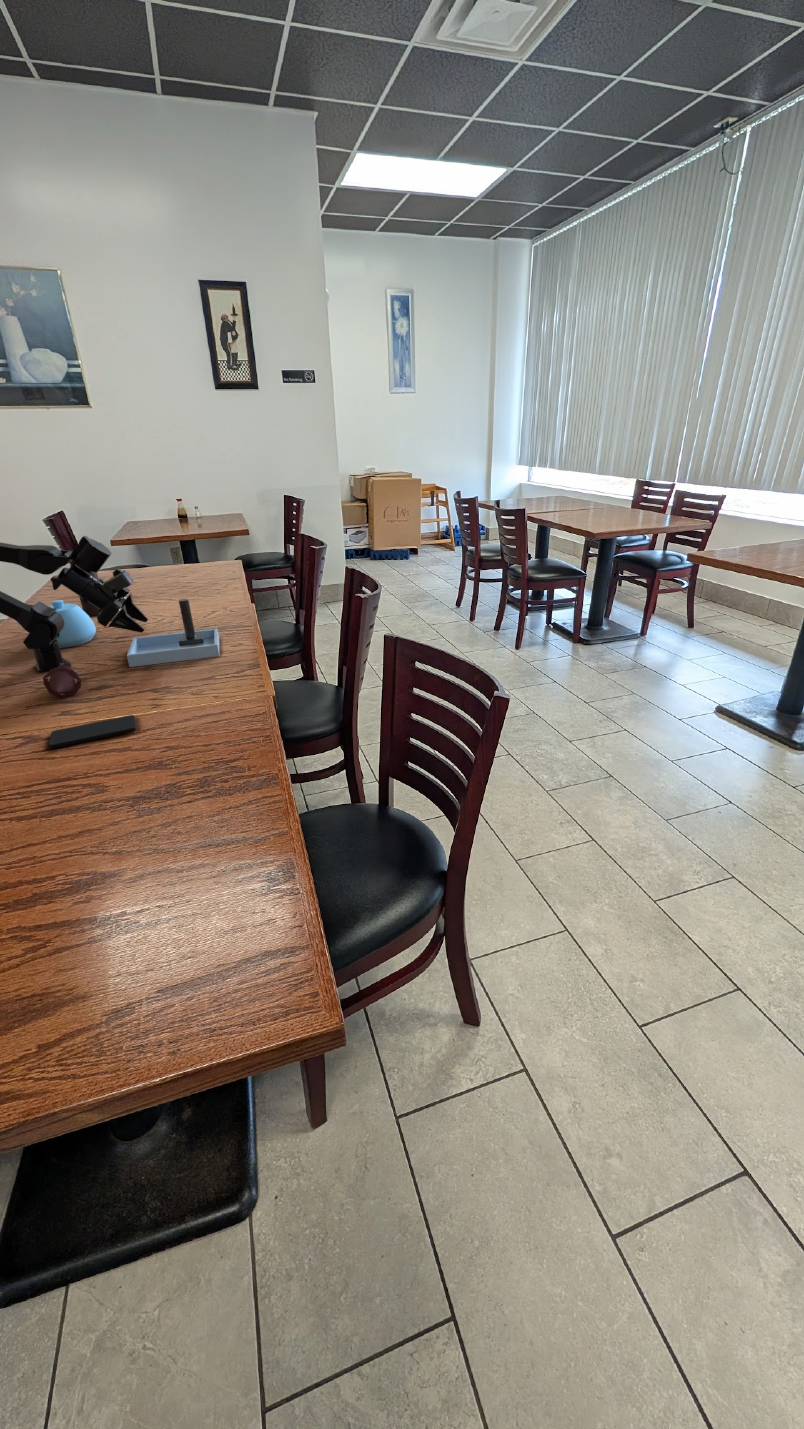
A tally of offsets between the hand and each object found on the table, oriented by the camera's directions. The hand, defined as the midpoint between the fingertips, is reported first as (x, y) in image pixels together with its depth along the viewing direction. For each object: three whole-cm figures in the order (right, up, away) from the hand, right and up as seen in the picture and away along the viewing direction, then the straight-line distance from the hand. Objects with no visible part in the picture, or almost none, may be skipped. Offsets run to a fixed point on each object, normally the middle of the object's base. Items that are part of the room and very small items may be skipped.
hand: (145, 625), depth 149 cm
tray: (+6, -6, +5) cm, 10 cm away
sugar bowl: (-29, -2, +17) cm, 34 cm away
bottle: (-35, +10, +42) cm, 56 cm away
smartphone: (+6, -26, -36) cm, 45 cm away
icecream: (-9, -19, -19) cm, 28 cm away
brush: (+10, -5, +6) cm, 13 cm away
